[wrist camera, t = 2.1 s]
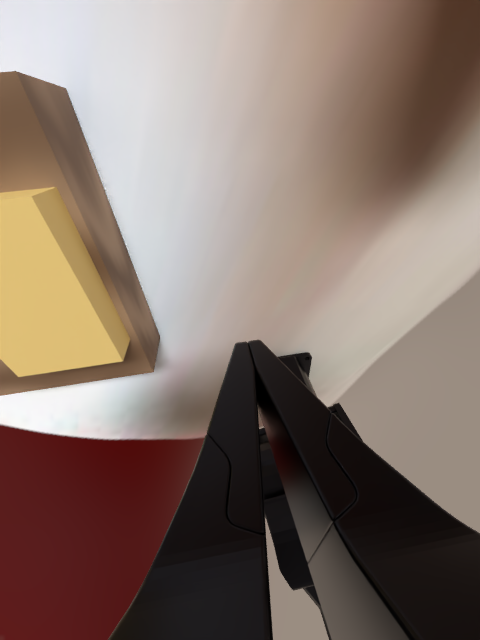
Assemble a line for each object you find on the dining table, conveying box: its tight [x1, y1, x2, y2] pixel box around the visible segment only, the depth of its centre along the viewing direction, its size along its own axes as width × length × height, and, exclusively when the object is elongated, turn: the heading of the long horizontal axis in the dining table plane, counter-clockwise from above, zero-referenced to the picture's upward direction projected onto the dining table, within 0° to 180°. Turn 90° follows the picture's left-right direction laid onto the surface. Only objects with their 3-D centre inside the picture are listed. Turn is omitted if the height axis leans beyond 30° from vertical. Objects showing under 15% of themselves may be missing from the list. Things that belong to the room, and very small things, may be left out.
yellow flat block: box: [0, 187, 130, 377], centre depth 12 cm, size 9×6×2 cm, turn 4°
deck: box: [0, 71, 160, 396], centre depth 14 cm, size 16×12×4 cm
